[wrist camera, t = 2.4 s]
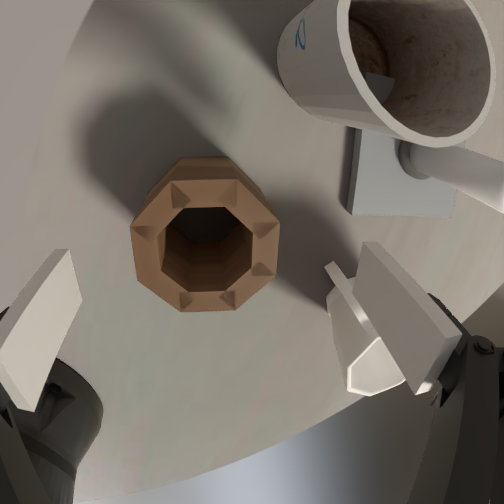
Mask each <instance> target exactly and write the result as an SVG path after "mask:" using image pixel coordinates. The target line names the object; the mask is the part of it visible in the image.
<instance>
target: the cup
mask: <svg viewBox="0 0 504 504" xmlns="http://www.w3.org/2000/svg"><path fill="white" fill-rule="evenodd" d="M324 268H325V269H326V271H327V273H328V274H329V276H330V277H331V279H332V281H333V282H334V284H335V287H334V288H333V289H332V290H331V292H330V293H329V294H328V295H327V296H326V303H327V313H328V315H330V316H331V325H332V332H333V339H334V344H335V347H336V351H337V354H338V358H339V361H340V365H341V369H342V373H343V378H344V381H345V385H346V389H347V391H350V392H354V393H358V394H362V395H367V396H372V395H374V394H377V393H380V392H382V391H385V390H387V389H390V388H392V387H394V386H397V385H399V384H401V383H402V382H403V381H405V380H406V379H405V377H404V375H403V374H402V372H401V370H400V369H399V367H398V365H397V364H396V362H395V360H394V359H393V357H392V355H391V354H390V352H389V350H388V349H387V347H386V346H385V344H384V342H383V341H382V339H381V337H380V336H379V334H378V333H377V331H376V329H375V328H374V326H373V325H372V323H371V322H370V320H369V318H368V317H367V315H366V314H365V312H364V311H363V309H362V308H361V306H360V304H359V303H358V301H357V300H356V298H355V297H354V295H353V294H352V290H353V286H354V282H355V277H352V278H349V279H347V278H346V277H345V275H344V274H343V273H342V271H341V270H340V268H339V267H338V266H337V264H336V263H335V262H334V261H332V262H331V263H329V264H328V265H326V266H325V267H324Z"/></svg>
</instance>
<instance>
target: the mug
mask: <svg viewBox="0 0 504 504" xmlns="http://www.w3.org/2000/svg"><path fill="white" fill-rule="evenodd" d="M277 65H278V71H279V75H280V77H281V80H282V82H283V85H284V87H285V88H286V90H287V91H288V93H289V95H290V96H291V97H292V98H293V100H294V101H295V102H296V103H297V104H298V105H299V106H300V107H301V108H303V109H304V110H305V111H307V112H308V113H309V114H311V115H313V116H315V117H317V118H319V119H321V120H324V121H327V122H331V123H335V124H340V125H345V126H349V127H354V128H358V129H362V130H367V131H371V132H375V133H379V134H383V135H386V136H390V137H394V138H397V139H401V140H405V141H408V142H411V143H415V144H418V145H422V146H428V147H434V148H439V147H450V146H453V145H455V144H458V143H461V142H463V141H464V140H466V139H467V138H469V137H470V136H471V135H473V134H474V133H475V131H476V130H477V129H478V128H479V127H480V126H481V125H482V123H483V121H484V119H485V118H486V116H487V114H488V112H489V109H490V106H491V103H492V100H493V96H494V90H495V84H496V67H495V59H494V53H493V48H492V45H491V41H490V38H489V35H488V32H487V30H486V27H485V25H484V23H483V21H482V19H481V17H480V15H479V13H478V12H477V10H476V9H475V7H474V5H473V4H472V2H471V1H470V0H314V1H313V2H311V3H310V4H309V5H308V6H307V7H305V8H304V9H303V10H302V11H301V12H300V13H299V14H297V15H296V16H295V17H294V18H293V19H292V20H291V21H290V22H289V23H288V25H287V26H286V27H285V29H284V31H283V32H282V34H281V36H280V39H279V43H278V47H277ZM362 72H369V73H373V74H378V75H382V76H386V77H390V78H394V79H395V81H394V86H393V88H392V90H391V93H390V95H389V96H388V98H387V99H386V100H385V102H384V103H383V104H382V105H381V104H380V103H379V102H378V100H377V99H376V97H375V96H374V95H373V93H372V92H371V91H370V89H369V88H368V86H367V84H366V82H365V80H364V78H363V76H362V74H361V73H362Z"/></svg>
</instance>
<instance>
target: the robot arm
mask: <svg viewBox="0 0 504 504" xmlns="http://www.w3.org/2000/svg"><path fill="white" fill-rule="evenodd" d="M352 294H353V295H354V297H355V298H356V300H357V301H358V303H359V304H360V306H361V308H362V309H363V311H364V312H365V314H366V315H367V317H368V318H369V320H370V322H371V323H372V325H373V326H374V328H375V329H376V331H377V333H378V334H379V336H380V337H381V339H382V341H383V342H384V344H385V346H386V347H387V349H388V350H389V352H390V354H391V355H392V357H393V359H394V360H395V362H396V364H397V365H398V367H399V369H400V370H401V372H402V374H403V375H404V377H405V379H406V380H407V382H408V384H409V386H410V387H411V389H412V391H413V392H414V394H415V395H417V394H420V393H424V392H427V391H430V390H431V389H432V387H433V386H434V384H435V383H436V381H437V380H439V381H440V383H441V384H442V386H441V387H440V389H439V391H438V392H437V394H436V395H435V397H434V398H433V400H432V401H431V403H430V405H431V406H432V405H433V404H434V402H435V401H436V406H435V410H434V415H433V419H432V424H431V428H430V432H429V436H428V440H427V444H426V447H425V451H424V454H423V457H422V461H421V464H420V467H419V470H418V473H417V477H416V480H415V482H414V485H413V488H412V491H411V494H410V496H409V499H408V501H407V504H489V499H490V504H504V348H498V347H495V346H494V344H493V343H492V342H491V341H489V340H488V339H486V338H485V337H482V336H471V335H470V334H469V333H468V332H467V330H466V329H465V328H464V327H463V326H462V325H461V323H460V322H459V321H458V320H457V319H456V318H455V317H454V315H453V316H452V313H451V312H450V311H449V310H448V309H446V307H445V305H444V304H443V303H442V302H441V301H440V300H439V299H437V298H436V297H434V296H433V295H431V294H430V293H426V292H425V291H424V290H423V289H422V288H421V287H420V285H419V284H418V283H417V282H416V281H415V280H414V279H413V278H412V277H411V276H410V275H409V274H408V273H407V272H406V271H405V270H404V269H403V268H402V267H401V266H400V265H399V264H398V262H397V261H396V260H395V259H394V258H393V257H392V256H391V255H390V254H389V253H388V252H387V251H386V250H385V249H384V248H383V247H382V246H381V245H380V244H378V243H377V242H363V244H362V249H361V254H360V259H359V264H358V268H357V273H356V277H355V282H354V286H353V290H352ZM81 303H82V297H81V294H80V290H79V287H78V283H77V279H76V276H75V272H74V268H73V264H72V259H71V255H70V251H69V249H55V250H54V251H53V253H52V254H51V255H50V256H49V257H48V259H47V260H46V261H45V262H44V263H43V265H42V266H41V267H40V268H39V270H38V271H37V272H36V273H35V275H34V276H33V277H32V278H31V280H30V281H29V282H28V284H27V285H26V286H25V287H24V289H23V290H22V291H21V293H20V294H19V295H18V297H17V298H16V300H15V301H14V302H13V304H12V305H11V307H7V308H6V309H5V310H4V311H3V312H1V313H0V504H72V503H73V494H74V485H75V478H76V472H77V467H78V465H79V463H80V462H81V460H82V458H83V457H84V455H85V454H86V452H87V451H88V449H89V447H90V446H91V444H92V442H93V441H94V439H95V437H96V436H97V435H98V433H99V431H100V428H101V422H102V417H103V406H102V403H101V400H100V398H99V397H98V395H97V394H96V392H95V391H94V390H93V388H92V387H91V386H90V385H89V384H88V383H87V382H86V381H85V380H84V379H83V378H82V377H81V376H79V375H78V374H77V373H76V372H74V371H73V370H72V369H70V368H69V367H68V366H66V365H65V364H63V363H61V362H60V361H58V360H56V359H55V358H56V356H57V353H58V351H59V349H60V346H61V344H62V342H63V340H64V338H65V336H66V333H67V331H68V329H69V327H70V325H71V323H72V321H73V319H74V317H75V315H76V313H77V311H78V309H79V307H80V305H81Z"/></svg>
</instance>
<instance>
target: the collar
mask: <svg viewBox="0 0 504 504" xmlns="http://www.w3.org/2000/svg"><path fill="white" fill-rule="evenodd" d="M198 207H226V208H227V209H228V210H229V211H230V212H231V213H232V214H233V215H234V216H235V217H236V218H238V219H239V224H238V225H237V226H236V227H235V228H234V229H233V230H232V231H231V232H230V233H229V234H228V235H227V236H226V237H225V238H224V239H222V240H221V241H220V242H214V243H191V242H190V241H189V240H188V239H186V238H185V237H184V236H183V235H182V234H180V233H179V232H178V231H177V230H176V229H175V228H173V227H172V226H171V220H172V219H173V218H174V217H175V216H176V215H177V214H178V213H179V212H180V211H181V210H182V209H183V208H198ZM130 232H131V240H132V247H133V254H134V261H135V267H136V274H137V280H138V281H139V282H140V283H142V284H143V285H144V286H146V287H147V288H148V289H150V290H151V291H152V292H154V293H155V294H156V295H158V296H159V297H160V298H162V299H163V300H165V301H166V302H167V303H169V304H170V305H172V306H173V307H174V308H176V309H177V310H179V311H180V312H204V311H228V310H236V309H237V308H238V307H240V306H241V305H242V304H243V303H244V302H246V301H247V300H248V299H249V298H250V297H252V296H253V295H254V294H255V293H256V292H257V291H259V290H260V289H261V288H262V287H263V286H264V285H266V284H267V283H268V282H269V281H270V280H271V279H273V278H274V277H275V276H276V269H277V257H278V245H279V232H280V221H279V219H278V218H277V216H276V214H275V213H274V211H273V209H272V208H271V206H270V204H269V203H268V201H267V200H266V198H265V196H264V195H263V193H262V191H261V190H260V188H259V187H258V186H257V185H256V184H255V183H254V182H253V181H252V180H251V179H250V178H249V177H248V176H247V175H246V174H245V173H244V172H243V171H242V170H241V169H240V168H239V167H238V166H237V165H236V164H235V163H234V162H233V161H232V160H231V159H229V158H228V157H202V158H180V159H179V160H178V161H177V163H176V164H175V165H174V166H173V167H172V168H171V169H170V170H169V171H168V172H167V173H166V174H165V175H164V176H163V177H162V179H161V180H160V181H159V182H158V183H157V184H156V185H155V186H154V187H153V188H152V190H151V191H150V192H149V194H148V195H147V197H146V199H145V200H144V202H143V204H142V206H141V207H140V209H139V211H138V213H137V214H136V216H135V218H134V220H133V222H132V223H131V225H130Z"/></svg>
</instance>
